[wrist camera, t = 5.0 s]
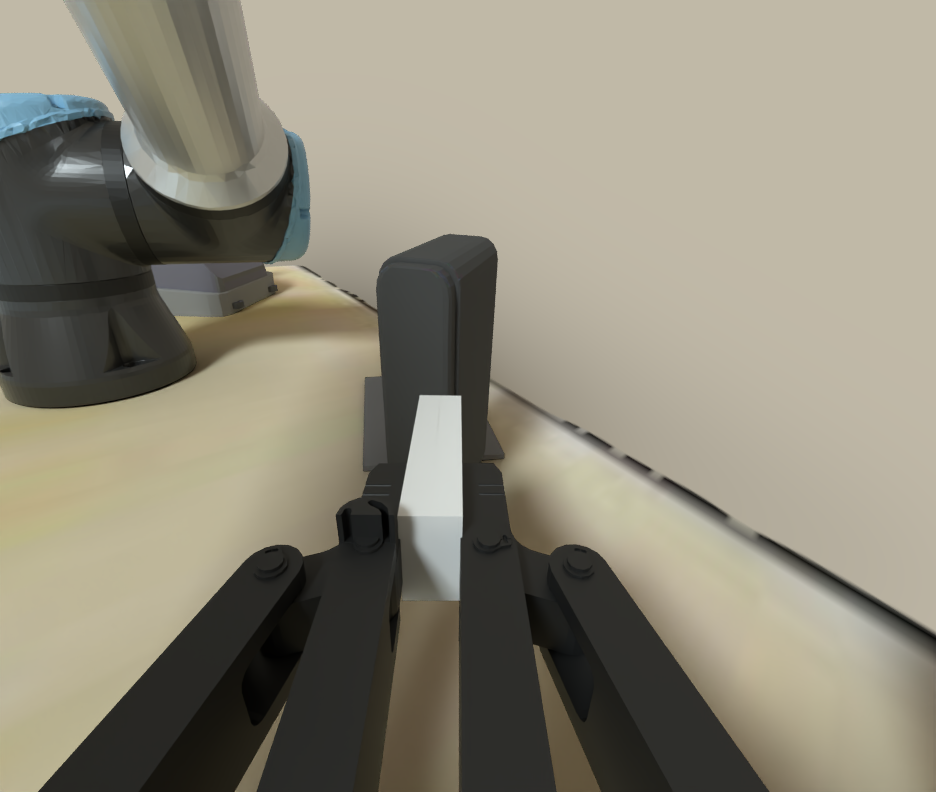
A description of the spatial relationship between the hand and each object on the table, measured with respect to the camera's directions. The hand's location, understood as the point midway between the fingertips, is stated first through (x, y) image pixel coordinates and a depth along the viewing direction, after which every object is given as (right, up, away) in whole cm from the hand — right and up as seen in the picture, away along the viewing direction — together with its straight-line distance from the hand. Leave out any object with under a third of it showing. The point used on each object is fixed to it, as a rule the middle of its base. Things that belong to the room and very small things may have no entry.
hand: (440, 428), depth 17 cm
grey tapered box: (-43, +17, +57) cm, 73 cm away
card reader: (-1, -5, +12) cm, 13 cm away
